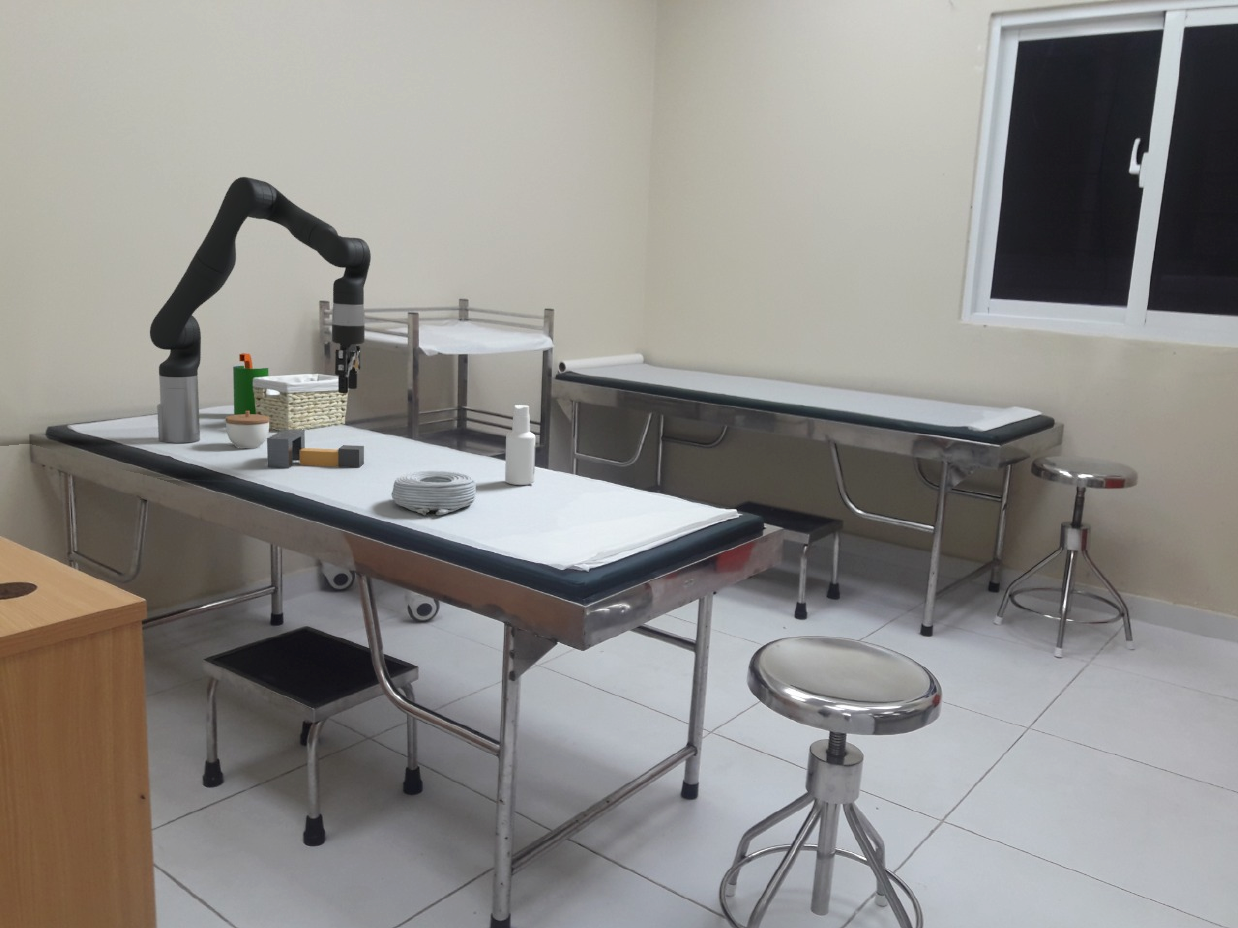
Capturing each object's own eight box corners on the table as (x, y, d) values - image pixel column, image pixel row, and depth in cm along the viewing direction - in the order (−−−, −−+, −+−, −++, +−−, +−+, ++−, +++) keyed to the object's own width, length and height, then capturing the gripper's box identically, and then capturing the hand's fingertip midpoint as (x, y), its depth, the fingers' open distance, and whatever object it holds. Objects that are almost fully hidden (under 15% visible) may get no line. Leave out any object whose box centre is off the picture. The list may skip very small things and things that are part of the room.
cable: (435, 519, 196) (435, 489, 194) (372, 504, 205) (372, 476, 204) (492, 503, 210) (493, 476, 209) (431, 490, 219) (432, 464, 218)
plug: (298, 465, 238) (298, 447, 237) (304, 461, 243) (304, 443, 242) (359, 467, 238) (359, 449, 237) (363, 463, 243) (363, 445, 242)
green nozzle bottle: (273, 417, 304) (272, 352, 300) (260, 422, 295) (259, 355, 291) (242, 415, 304) (240, 351, 301) (228, 420, 296) (226, 353, 292)
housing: (267, 467, 234) (266, 438, 232) (284, 456, 246) (284, 429, 245) (288, 468, 234) (288, 439, 232) (304, 457, 247) (304, 430, 245)
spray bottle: (538, 481, 233) (541, 405, 230) (526, 486, 227) (529, 409, 223) (512, 477, 235) (514, 403, 232) (499, 483, 229) (501, 406, 225)
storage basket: (316, 419, 305) (315, 372, 302) (352, 426, 297) (352, 377, 294) (250, 427, 285) (249, 377, 282) (287, 435, 277) (286, 382, 274)
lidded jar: (251, 452, 251) (250, 415, 249) (217, 447, 254) (215, 411, 252) (278, 445, 261) (278, 410, 259) (245, 441, 264) (244, 406, 262)
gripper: (356, 326, 228) (356, 395, 231) (371, 322, 242) (370, 388, 245) (324, 324, 227) (324, 393, 231) (340, 320, 241) (340, 386, 245)
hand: (348, 390), depth 238 cm, fingers open, 8 cm apart
